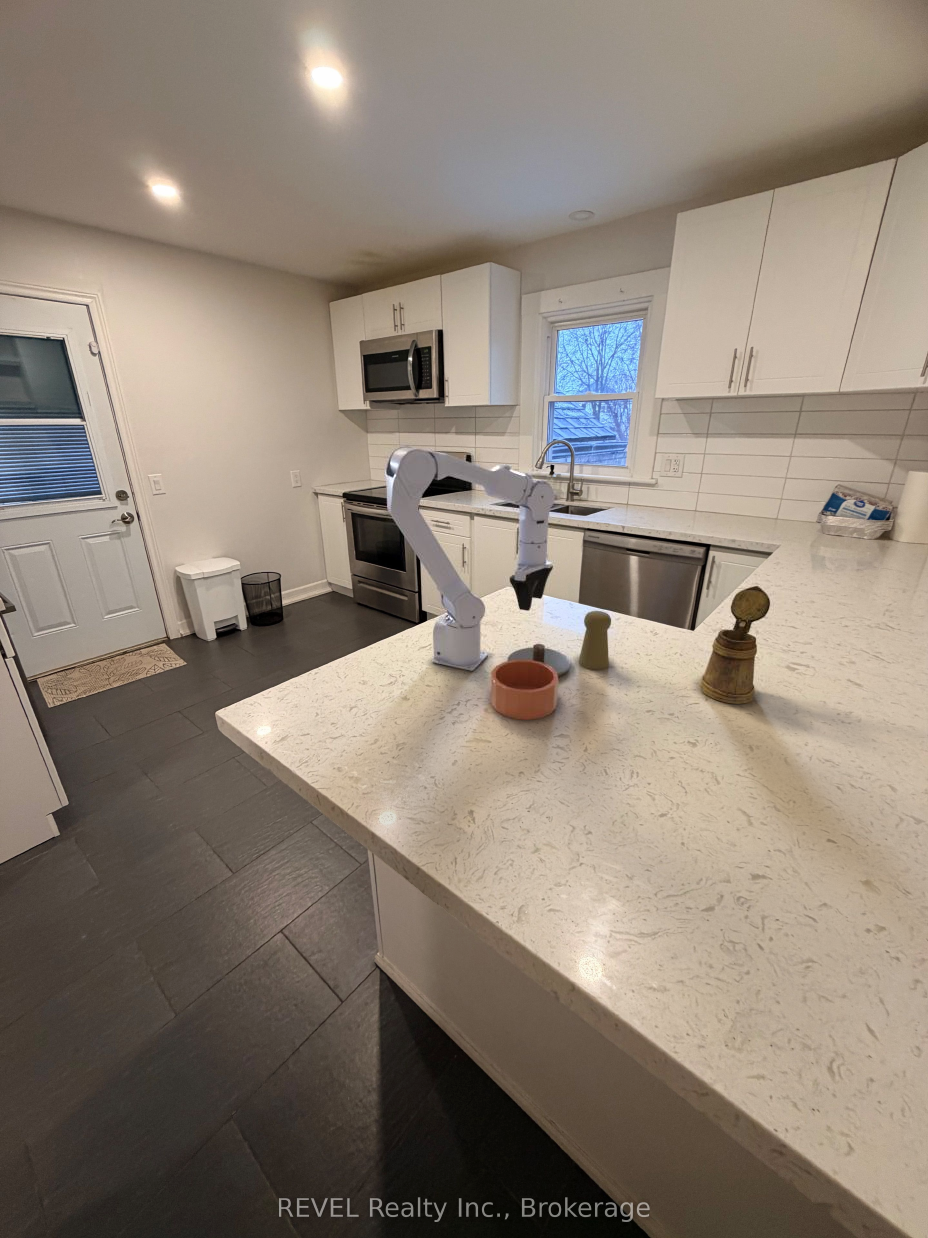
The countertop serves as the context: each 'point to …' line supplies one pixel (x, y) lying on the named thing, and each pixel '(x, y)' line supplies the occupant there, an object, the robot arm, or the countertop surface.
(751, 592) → the wooden mug
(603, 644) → the olive green pepper mill
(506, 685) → the terracotta bowl
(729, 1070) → the countertop surface
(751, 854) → the countertop surface
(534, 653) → the lid
